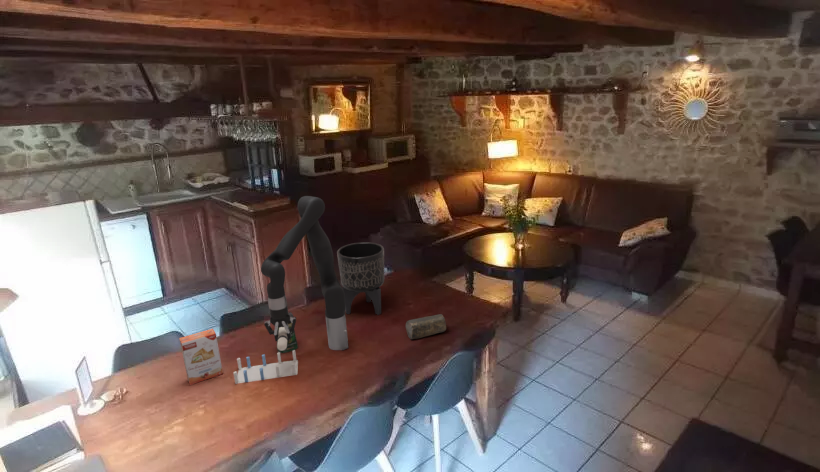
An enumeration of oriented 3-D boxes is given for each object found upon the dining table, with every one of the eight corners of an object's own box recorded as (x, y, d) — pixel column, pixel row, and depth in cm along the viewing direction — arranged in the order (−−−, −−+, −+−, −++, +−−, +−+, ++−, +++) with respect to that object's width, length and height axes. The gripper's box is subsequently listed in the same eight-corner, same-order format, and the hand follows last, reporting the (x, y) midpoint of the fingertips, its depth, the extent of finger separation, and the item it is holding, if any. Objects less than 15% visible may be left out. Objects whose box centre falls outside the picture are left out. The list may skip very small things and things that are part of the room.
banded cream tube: (279, 332, 218) (278, 324, 216) (288, 331, 218) (288, 323, 217) (277, 351, 203) (276, 342, 201) (287, 350, 204) (286, 341, 202)
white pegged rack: (298, 361, 222) (296, 349, 220) (297, 377, 209) (295, 365, 207) (239, 369, 217) (237, 358, 215) (235, 386, 205) (233, 374, 203)
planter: (349, 299, 283) (344, 241, 272) (391, 300, 279) (387, 242, 268) (337, 319, 259) (331, 257, 248) (382, 320, 255) (378, 258, 244)
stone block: (405, 335, 242) (413, 343, 233) (403, 319, 239) (412, 326, 231) (440, 324, 250) (449, 332, 241) (438, 309, 247) (448, 316, 238)
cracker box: (190, 386, 207) (181, 343, 200) (187, 379, 212) (178, 337, 205) (223, 374, 214) (216, 332, 207) (220, 368, 219) (212, 327, 212)
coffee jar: (280, 356, 226) (275, 320, 221) (275, 348, 233) (270, 314, 227) (300, 350, 231) (295, 315, 225) (295, 342, 237) (290, 308, 232)
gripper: (295, 299, 210) (300, 334, 215) (261, 303, 207) (267, 338, 213) (294, 307, 203) (299, 342, 208) (260, 311, 200) (265, 347, 206)
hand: (283, 340), depth 211 cm, fingers closed on banded cream tube, 4 cm apart
